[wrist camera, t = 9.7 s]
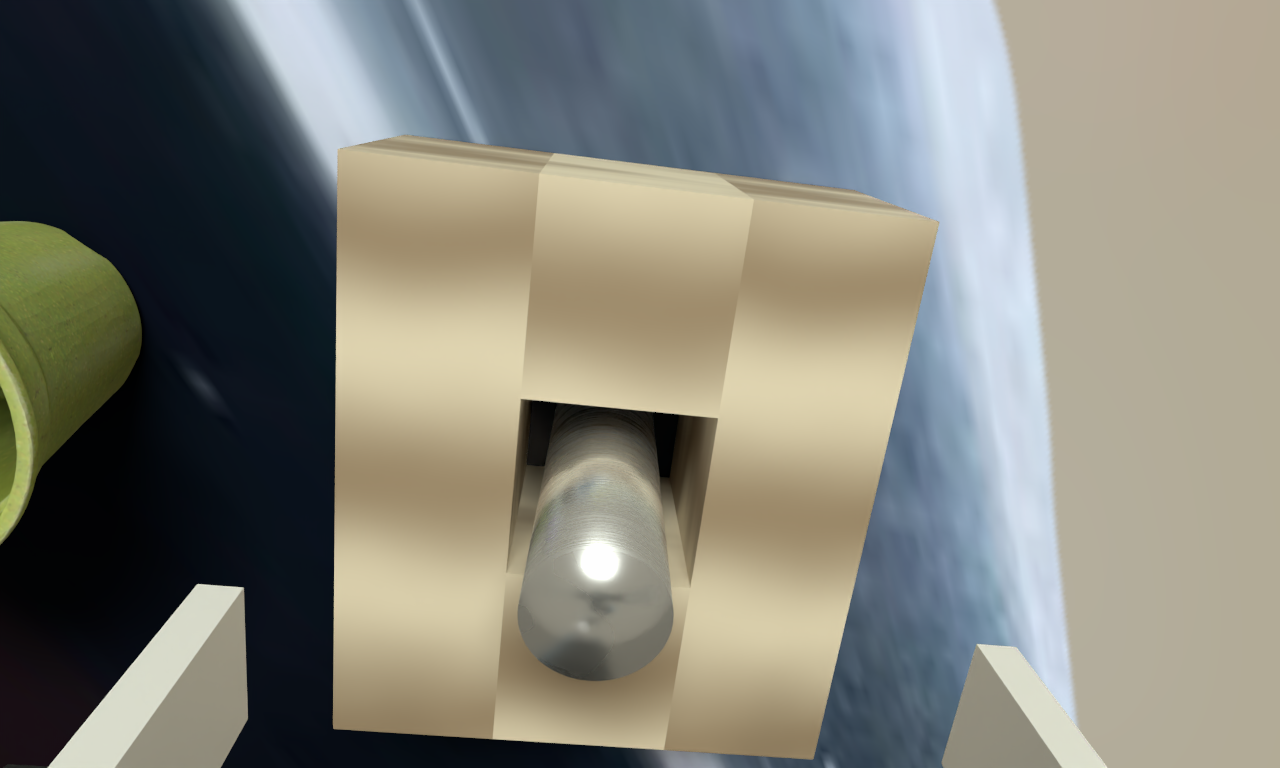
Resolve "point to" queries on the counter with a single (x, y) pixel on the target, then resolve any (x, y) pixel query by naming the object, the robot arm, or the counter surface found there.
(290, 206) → the counter surface
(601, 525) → the steel pin
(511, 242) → the birch block
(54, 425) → the plant pot
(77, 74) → the counter surface
